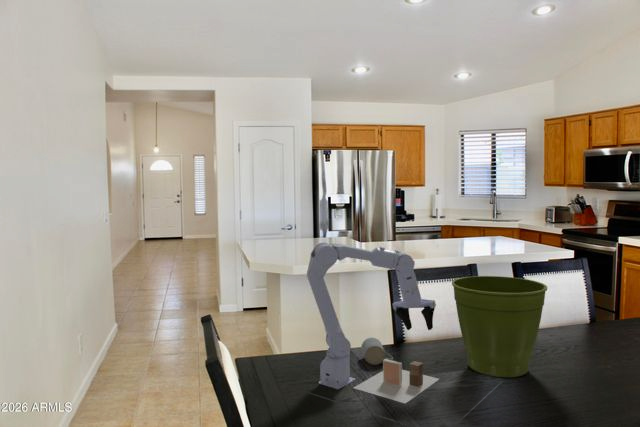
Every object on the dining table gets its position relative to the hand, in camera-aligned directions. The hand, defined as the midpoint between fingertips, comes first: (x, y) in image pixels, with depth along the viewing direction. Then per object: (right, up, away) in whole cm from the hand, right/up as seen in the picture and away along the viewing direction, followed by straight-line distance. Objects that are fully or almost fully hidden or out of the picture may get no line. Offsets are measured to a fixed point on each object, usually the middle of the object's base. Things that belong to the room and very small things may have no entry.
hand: (419, 328), depth 161 cm
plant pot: (+27, -15, +6) cm, 32 cm away
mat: (-8, -16, -6) cm, 19 cm away
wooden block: (-3, -15, -7) cm, 17 cm away
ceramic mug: (-12, -15, +14) cm, 24 cm away
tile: (-10, -15, -7) cm, 19 cm away
